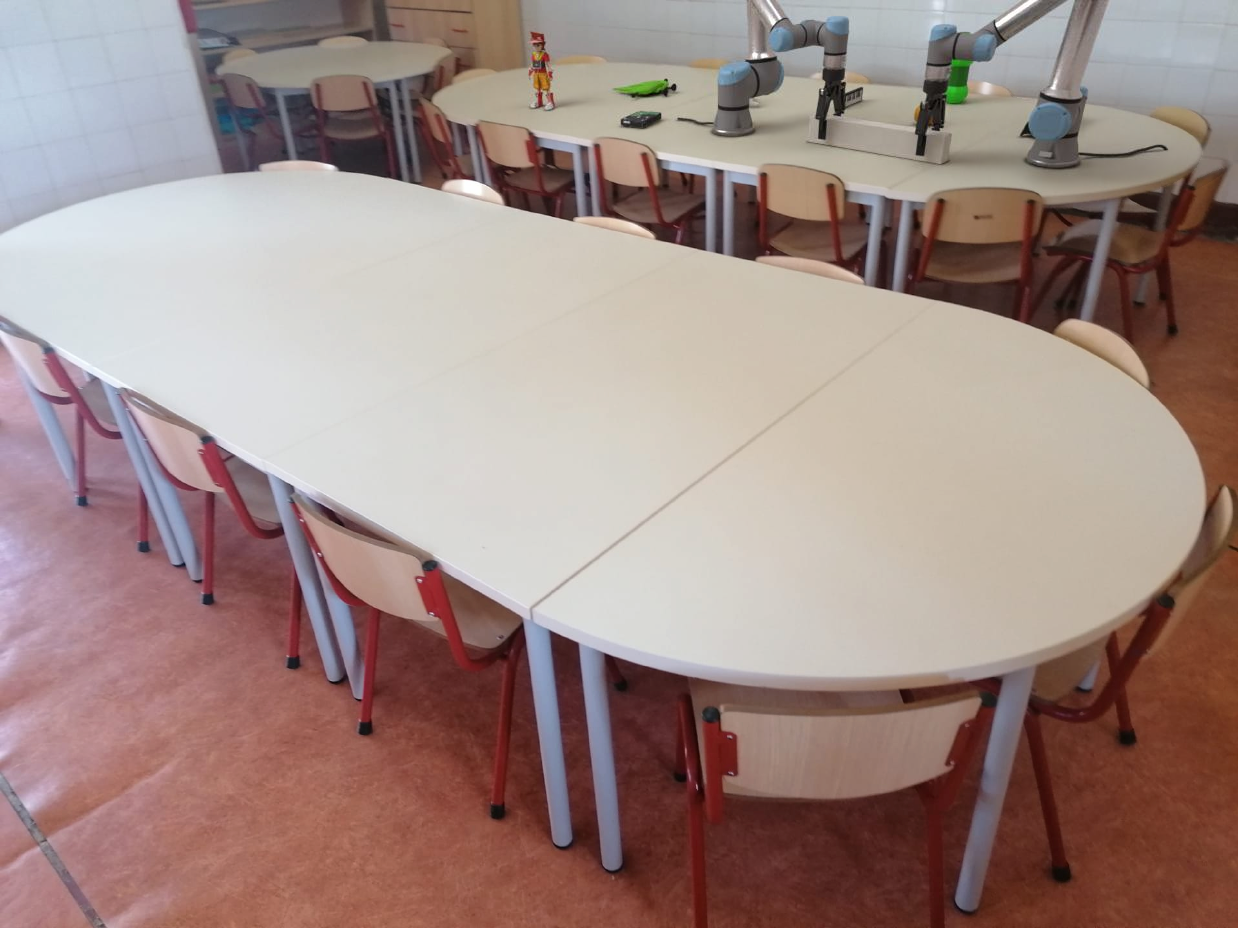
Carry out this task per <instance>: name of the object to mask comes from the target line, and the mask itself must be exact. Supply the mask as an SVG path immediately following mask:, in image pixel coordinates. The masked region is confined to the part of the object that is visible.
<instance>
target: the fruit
mask: <svg viewBox="0 0 1238 928" xmlns="http://www.w3.org/2000/svg"><path fill="white" fill-rule="evenodd" d="M919 111H920V105H918V106H917V107H916V108H915V110H914V113H913V119H914V121H915V122H916V123H917V120H918V116H919ZM929 125H933V119H932V116H931V119H930V123H929Z"/></svg>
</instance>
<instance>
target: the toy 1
mask: <svg viewBox="0 0 1238 928" xmlns="http://www.w3.org/2000/svg"><path fill="white" fill-rule="evenodd" d="M529 33H530V35H531V36H528V37H527V38H528V39H529V40H528V41H527V43H529V44H530V43H531V44H532V48H533V50H534V51H533V52H532V55H531V58H530V59H531V63H530V66H528V74H527V75H528V76H527V77H528V79H529V80H531V75H532V74H533V84H532V85H533V86H532V87H533V88H534V89H535V90H536V92H534V95H535V97H536V100H535V101H533V102H531V105H530V108H531V109H535V108H538V107H542V106H544V101H543V100H544V99H543V95H544V92H546V94H545V97H546V99H547V103H546V104H545V106H544V110H546V111H549V110H553V109H554V107H555V106H556V105H555V99H554V92H551V91H550V90H551V86H552V84H551V82H552V81H553V80H554V77H553V73H554V71H555V70H554V69H552V68H551V63H550V61H551V59H550V58H551V57H550V54H549V53H548V52H547V50H546V48H545V46H546V44H547V41H545V35H544V33H543V32H542V33H539V32H535V31H529Z"/></svg>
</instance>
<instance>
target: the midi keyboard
mask: <svg viewBox="0 0 1238 928" xmlns="http://www.w3.org/2000/svg"><path fill="white" fill-rule="evenodd" d="M863 95H864V86H860V87H857V88H855V89H851V90H850V91H847V92H845V108H846V107H849V106H851V105H853V104H855V103H858V102H860V101H863Z"/></svg>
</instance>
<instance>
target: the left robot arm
mask: <svg viewBox="0 0 1238 928" xmlns="http://www.w3.org/2000/svg"><path fill="white" fill-rule="evenodd" d="M746 15H747V35H748V38H747V39H748V54H747V55H746V57H745V58H744V60H745V61H744V60H742V61H741V60H740V61H739V60H738V61H732V62H728V63H726V64H723V65H722V66H720V68H718V73H717V74H718V75H717V111H716V114H715V118H714V120H713V121H698V120H697V119H693V118H687V117H677V119H676V120H677V121H686V122H687V121H688V122H691V123H695V124H697V125H701V126H703V125H704V126H705V125H712V133H713V134H715V135H717V136H721V137H741V136H746V135H750V134H752V133H754V127H755V121H753V118H752V115H751V111H750V106H749V99H750V98H754V99H755V98H758V97H762V96H763V97H764V96H769V95H770V94H771V95H772V94H774V93H776V92H777V91H779V89H780V88H781V87H782V86H783V83H784V80H785V67H784V66H783V63H782V61H780V60H779V59H778V54H777V53H786V52H789V51H790V52H791V51H794V50H797V49H798V50H799V49H804V48H808V47H815V46H816V47H821V48H823V58H822V59H823V60H822V67H823V68H822V75H821V80H822V81H824V86H823V88H819V89H818V100H817V105H816V111H815V114H816V116H815V119H816V120H819V130H818V139H822V140H826V129H827V120H826V117H827V115H828V113H829V109H830V106H831V103H832V104H833V109H834V113H833V114H832V115H833V116H840V117H842V115H844V114H845V112H846V107H845V93H846V87H847V82H846V81H844V80H845V78H846V68H845V67H846V64H847V55H848V54H847V53H848V43H849V42H848V41H849V33H850V19H849V18H848V17H847V16H843V15H832V16H829V17H827V18H826V21H821V20H816V19H804V20H802V21H801V22H800V23H796V24H793V23H792V21H791V20H790V19H789V17H788V16H787V14H786V13H785V11H784V10H783V8H782V7H781V5H780V4H779V2H778V0H746ZM823 116H824V117H823Z"/></svg>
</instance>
